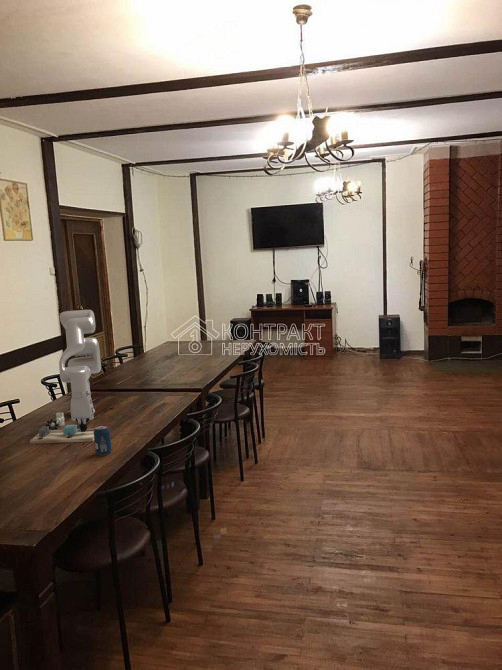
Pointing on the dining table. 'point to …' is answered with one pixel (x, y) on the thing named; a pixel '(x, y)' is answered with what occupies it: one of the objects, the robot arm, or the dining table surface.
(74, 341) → the robot arm
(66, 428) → the sliding block
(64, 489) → the dining table surface
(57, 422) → the valve
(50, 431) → the board
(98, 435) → the soda can
